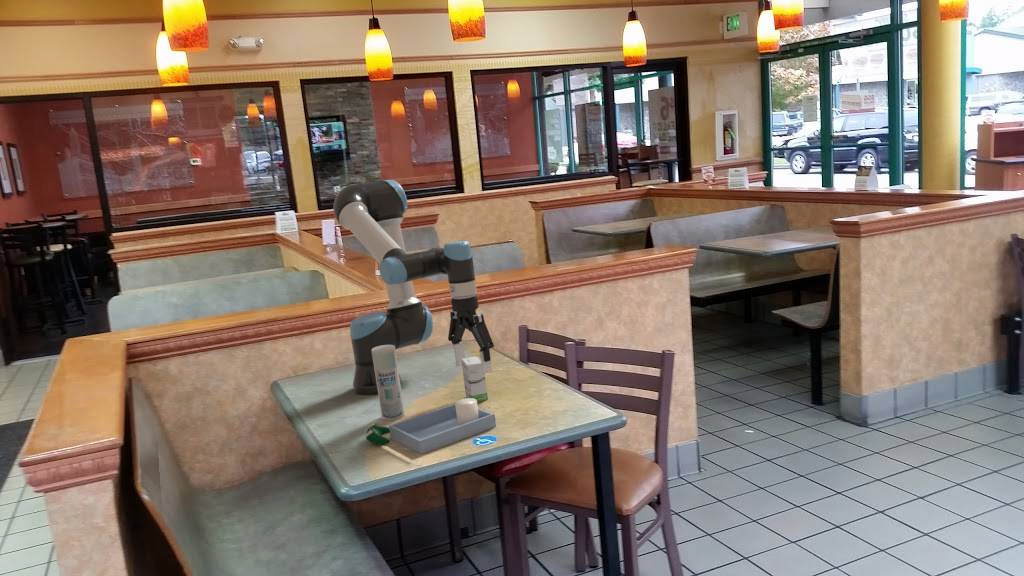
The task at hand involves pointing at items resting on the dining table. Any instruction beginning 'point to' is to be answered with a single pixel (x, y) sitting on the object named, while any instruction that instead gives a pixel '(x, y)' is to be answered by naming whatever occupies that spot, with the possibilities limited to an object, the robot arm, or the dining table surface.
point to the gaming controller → (377, 434)
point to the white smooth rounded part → (466, 410)
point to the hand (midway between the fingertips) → (473, 368)
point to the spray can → (388, 382)
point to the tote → (438, 429)
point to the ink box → (474, 379)
